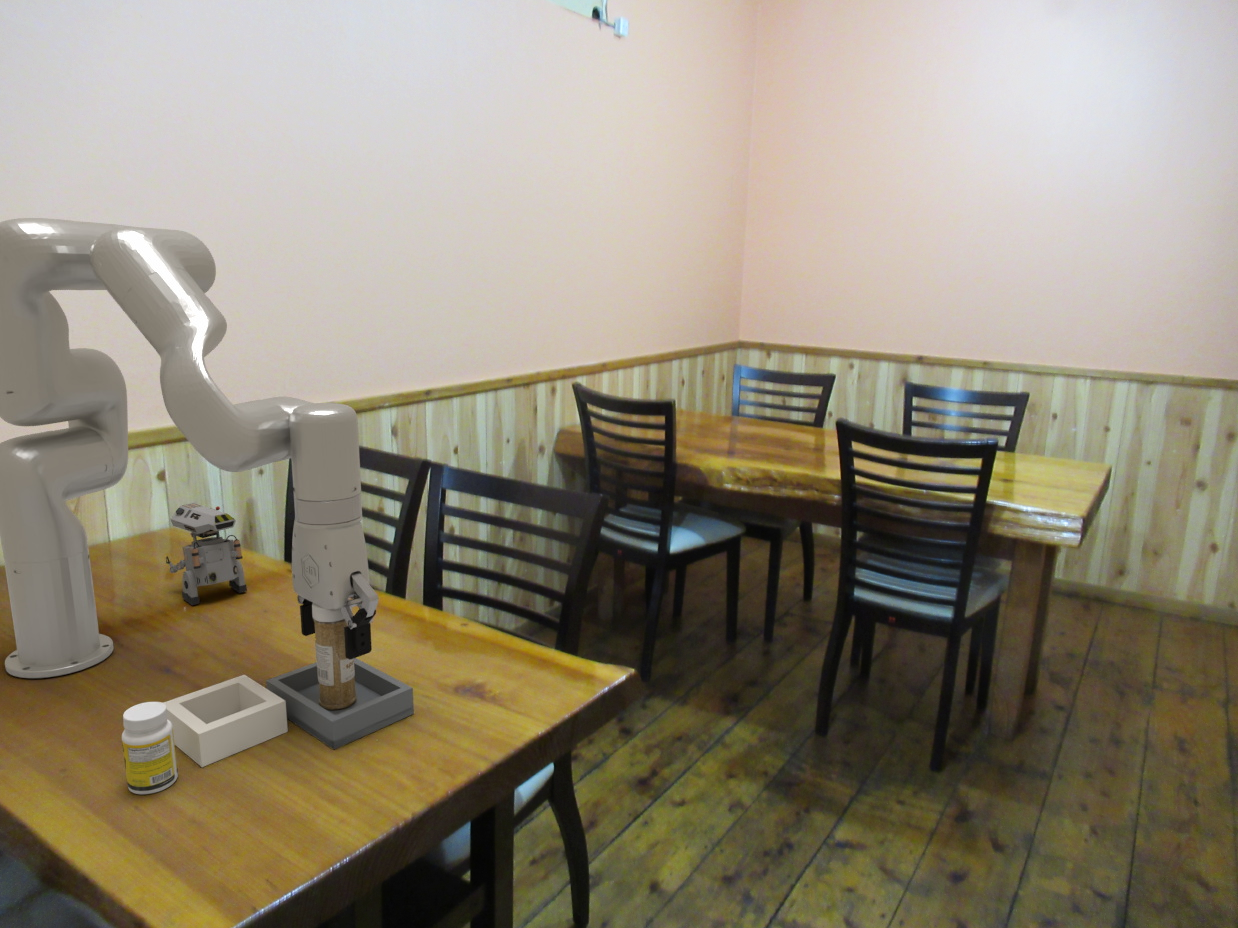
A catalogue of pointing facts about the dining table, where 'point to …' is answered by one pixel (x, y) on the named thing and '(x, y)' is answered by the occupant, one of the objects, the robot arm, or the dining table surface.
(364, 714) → the charcoal tray
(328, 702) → the sprinkles bottle
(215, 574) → the figurine
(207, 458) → the robot arm
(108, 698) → the dining table surface
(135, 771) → the supplement bottle
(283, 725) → the frame
